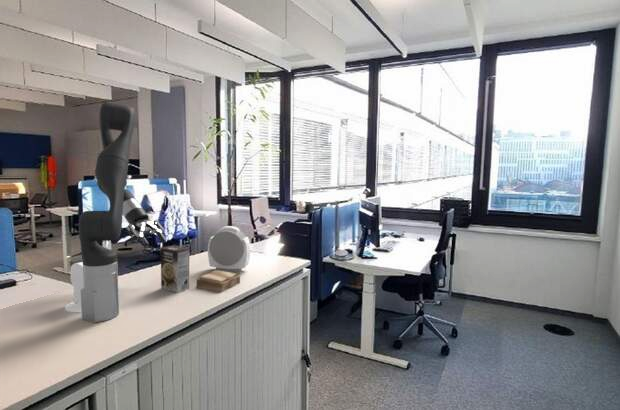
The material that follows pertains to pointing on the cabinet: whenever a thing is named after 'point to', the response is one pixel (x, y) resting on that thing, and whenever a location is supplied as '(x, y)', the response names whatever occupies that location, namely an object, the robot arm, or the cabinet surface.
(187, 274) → the coffee box
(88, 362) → the cabinet surface
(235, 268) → the alarm clock
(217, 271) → the brown flat block
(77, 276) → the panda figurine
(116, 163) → the robot arm
